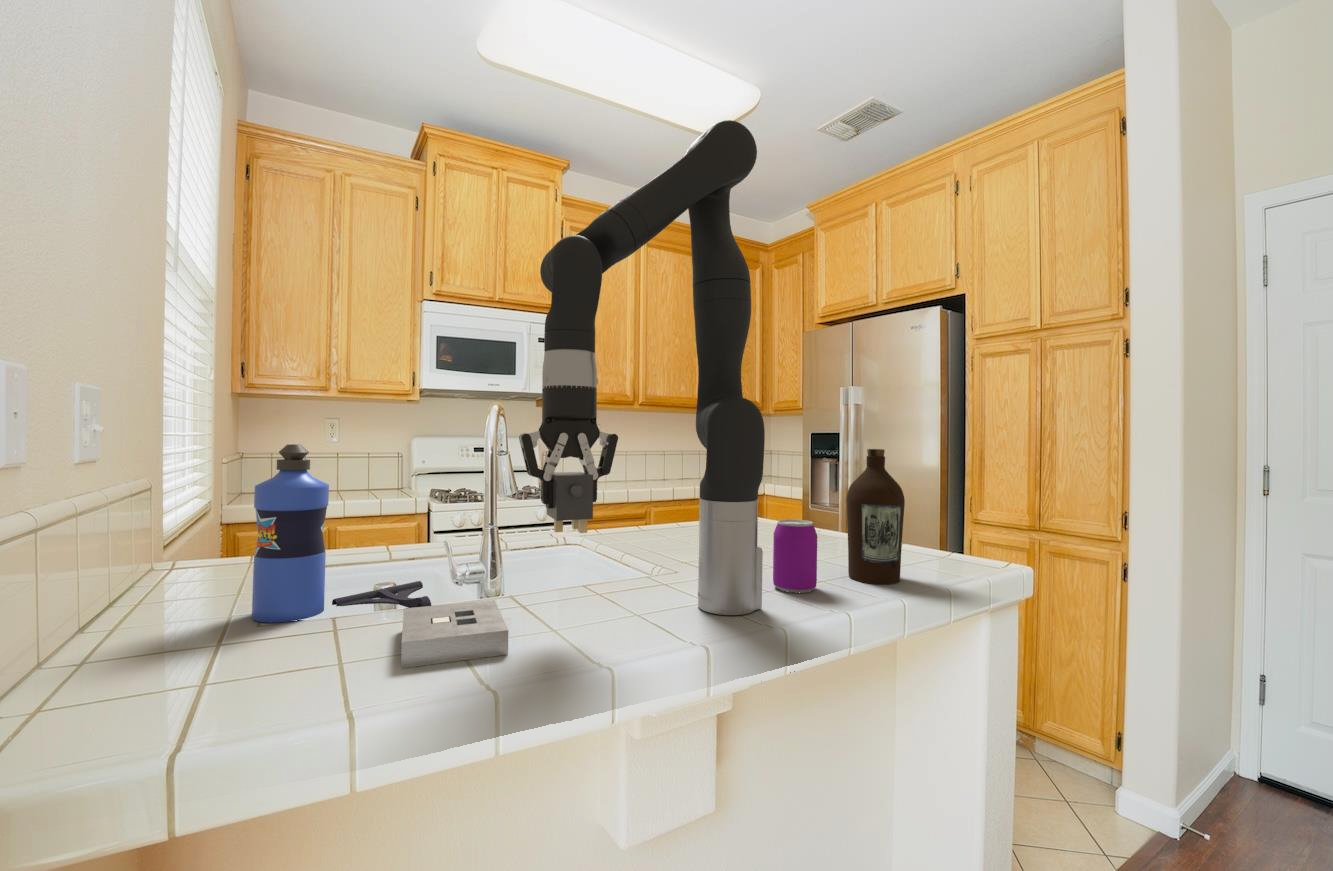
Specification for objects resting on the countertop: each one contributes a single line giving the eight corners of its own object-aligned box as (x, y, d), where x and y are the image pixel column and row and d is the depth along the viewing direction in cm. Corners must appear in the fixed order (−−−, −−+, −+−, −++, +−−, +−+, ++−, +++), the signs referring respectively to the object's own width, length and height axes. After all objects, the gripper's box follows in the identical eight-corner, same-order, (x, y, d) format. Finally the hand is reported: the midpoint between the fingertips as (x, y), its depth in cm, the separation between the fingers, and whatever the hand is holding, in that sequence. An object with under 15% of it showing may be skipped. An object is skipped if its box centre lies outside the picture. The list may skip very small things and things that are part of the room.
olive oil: (839, 571, 120) (841, 448, 120) (892, 572, 120) (894, 448, 119) (853, 584, 109) (855, 449, 109) (911, 586, 109) (914, 450, 109)
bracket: (380, 628, 84) (381, 608, 84) (331, 608, 93) (332, 590, 93) (468, 606, 95) (468, 588, 95) (417, 590, 104) (417, 574, 104)
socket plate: (494, 620, 86) (494, 599, 86) (508, 654, 73) (508, 630, 73) (403, 630, 81) (403, 608, 81) (401, 668, 68) (401, 642, 68)
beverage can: (796, 596, 101) (797, 526, 101) (763, 587, 107) (764, 520, 107) (825, 590, 105) (826, 522, 105) (792, 581, 111) (793, 517, 111)
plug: (580, 526, 87) (580, 471, 87) (595, 535, 80) (595, 475, 80) (546, 528, 85) (546, 472, 85) (558, 537, 78) (559, 476, 78)
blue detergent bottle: (269, 627, 81) (275, 445, 82) (238, 615, 86) (244, 443, 87) (337, 611, 89) (342, 445, 89) (305, 601, 94) (310, 444, 94)
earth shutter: (448, 622, 78) (448, 616, 78) (449, 627, 76) (449, 621, 76) (432, 624, 77) (432, 618, 77) (432, 629, 75) (432, 623, 75)
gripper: (610, 388, 89) (610, 502, 89) (513, 385, 83) (512, 506, 83) (627, 385, 82) (626, 508, 82) (522, 381, 76) (521, 512, 77)
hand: (569, 506), depth 83 cm, fingers closed on plug, 5 cm apart
